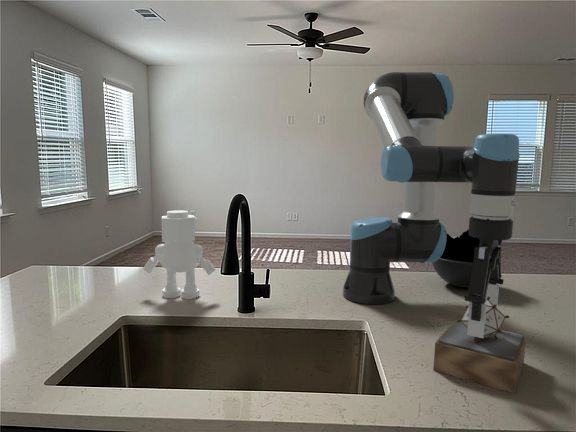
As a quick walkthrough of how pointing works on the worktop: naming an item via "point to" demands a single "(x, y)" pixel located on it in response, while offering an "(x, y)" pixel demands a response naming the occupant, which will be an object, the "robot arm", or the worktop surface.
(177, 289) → the robot toy
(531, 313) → the worktop surface
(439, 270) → the coal bowl
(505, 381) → the walnut framed square mirror
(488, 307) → the game die
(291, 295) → the worktop surface
